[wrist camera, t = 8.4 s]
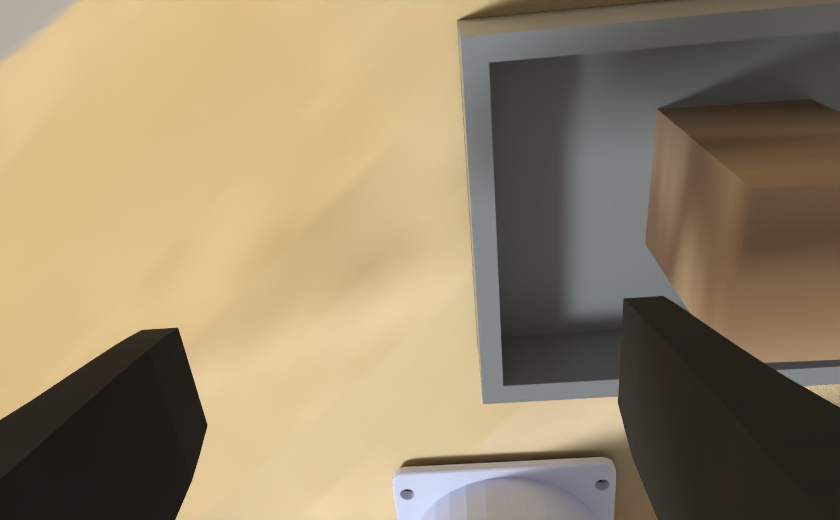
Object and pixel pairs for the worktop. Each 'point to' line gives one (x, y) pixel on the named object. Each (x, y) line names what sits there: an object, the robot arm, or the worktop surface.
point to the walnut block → (752, 222)
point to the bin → (603, 166)
